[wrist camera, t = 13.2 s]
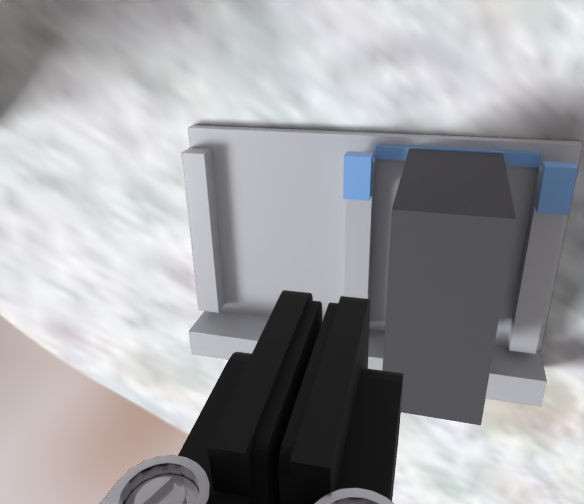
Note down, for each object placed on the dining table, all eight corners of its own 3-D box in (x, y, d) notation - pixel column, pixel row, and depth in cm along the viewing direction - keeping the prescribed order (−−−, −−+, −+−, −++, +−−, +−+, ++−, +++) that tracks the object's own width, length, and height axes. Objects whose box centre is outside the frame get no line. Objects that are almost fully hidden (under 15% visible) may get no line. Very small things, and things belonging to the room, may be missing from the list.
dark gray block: (408, 148, 25) (391, 209, 19) (503, 153, 24) (516, 219, 18) (397, 316, 29) (380, 408, 23) (477, 326, 28) (480, 425, 22)
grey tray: (192, 125, 28) (165, 139, 26) (580, 141, 24) (595, 160, 21) (212, 325, 34) (191, 354, 31) (534, 368, 29) (541, 407, 27)
